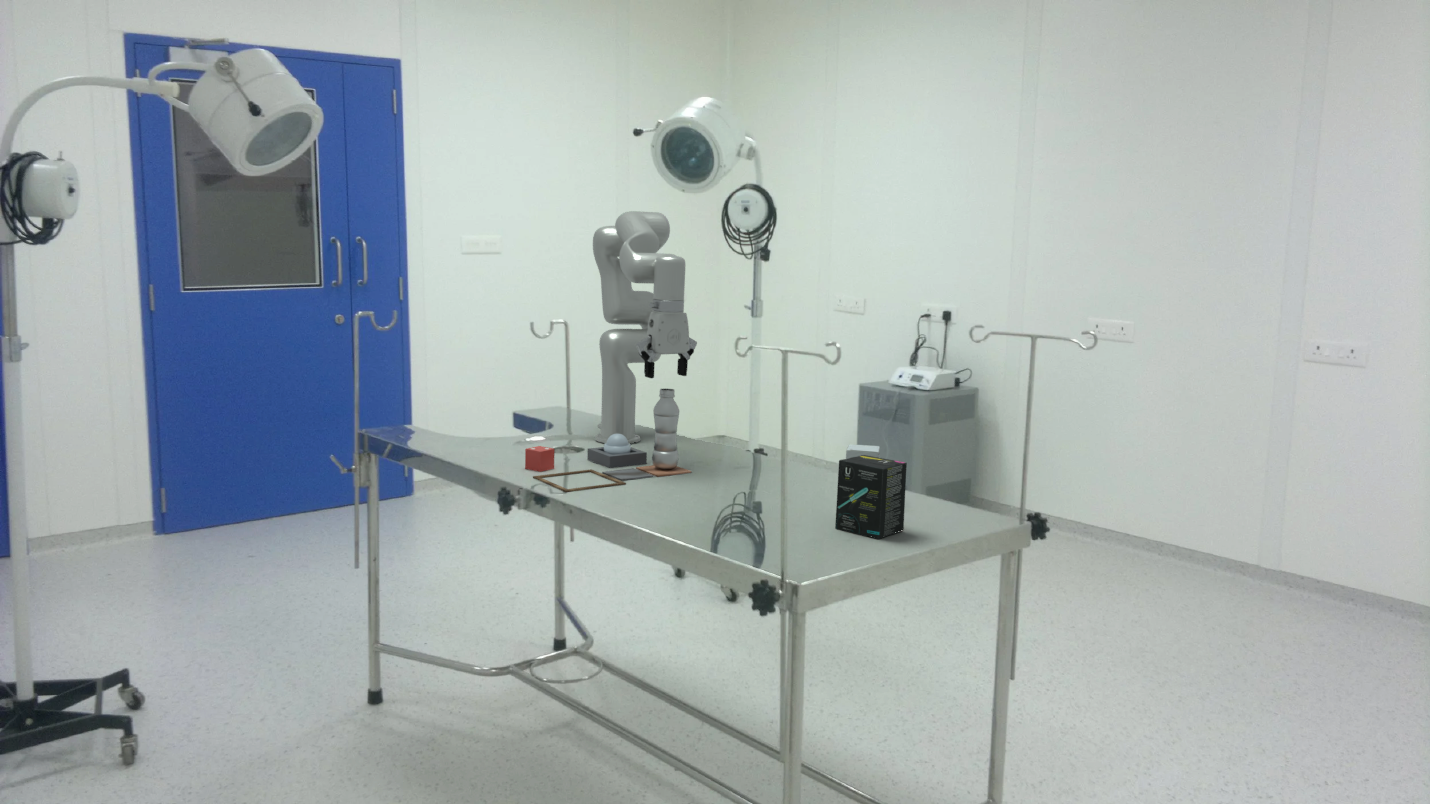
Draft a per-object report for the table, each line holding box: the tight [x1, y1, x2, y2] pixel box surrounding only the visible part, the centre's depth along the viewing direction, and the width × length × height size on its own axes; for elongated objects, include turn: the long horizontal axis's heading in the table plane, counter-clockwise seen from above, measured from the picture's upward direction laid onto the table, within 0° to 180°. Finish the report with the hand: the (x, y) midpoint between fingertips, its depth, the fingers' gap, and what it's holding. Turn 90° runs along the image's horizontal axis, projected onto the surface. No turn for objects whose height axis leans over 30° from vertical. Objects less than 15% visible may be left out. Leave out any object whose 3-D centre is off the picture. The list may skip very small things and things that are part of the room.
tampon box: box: [834, 455, 907, 539], centre depth 217 cm, size 11×9×15 cm
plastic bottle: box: [651, 388, 680, 469], centre depth 264 cm, size 6×7×20 cm
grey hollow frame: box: [586, 446, 648, 469], centre depth 273 cm, size 11×11×3 cm
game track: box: [532, 464, 692, 493], centre depth 257 cm, size 16×37×1 cm, turn 127°
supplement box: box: [845, 443, 881, 459], centre depth 240 cm, size 7×7×13 cm
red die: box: [524, 445, 555, 473], centre depth 262 cm, size 5×5×5 cm
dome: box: [603, 434, 632, 455], centre depth 273 cm, size 7×7×6 cm
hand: (665, 376), depth 262 cm, fingers open, 9 cm apart
